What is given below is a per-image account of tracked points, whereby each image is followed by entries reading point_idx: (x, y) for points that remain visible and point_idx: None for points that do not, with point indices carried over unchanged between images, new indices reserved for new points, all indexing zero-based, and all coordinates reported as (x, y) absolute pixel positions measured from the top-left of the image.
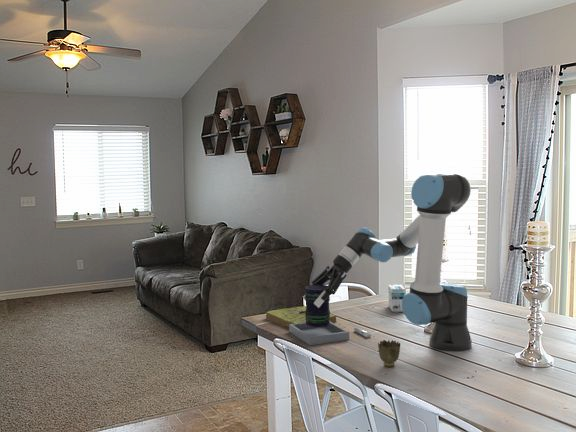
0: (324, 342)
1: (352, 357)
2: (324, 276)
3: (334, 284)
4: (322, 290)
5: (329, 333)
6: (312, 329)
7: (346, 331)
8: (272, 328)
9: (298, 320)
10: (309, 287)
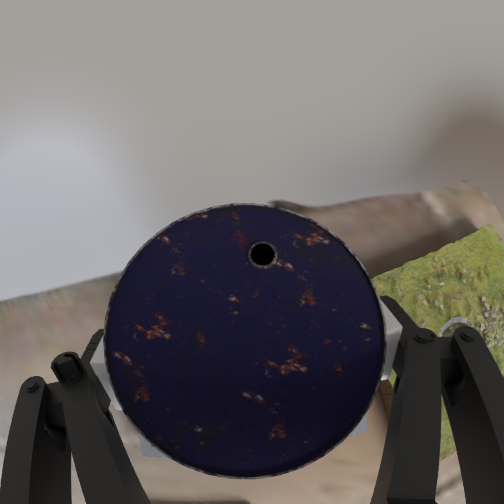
0: None
1: (11, 358)
2: (390, 487)
3: (9, 442)
4: (108, 345)
5: None
6: None
7: (151, 449)
8: (382, 221)
9: None
10: (253, 243)
